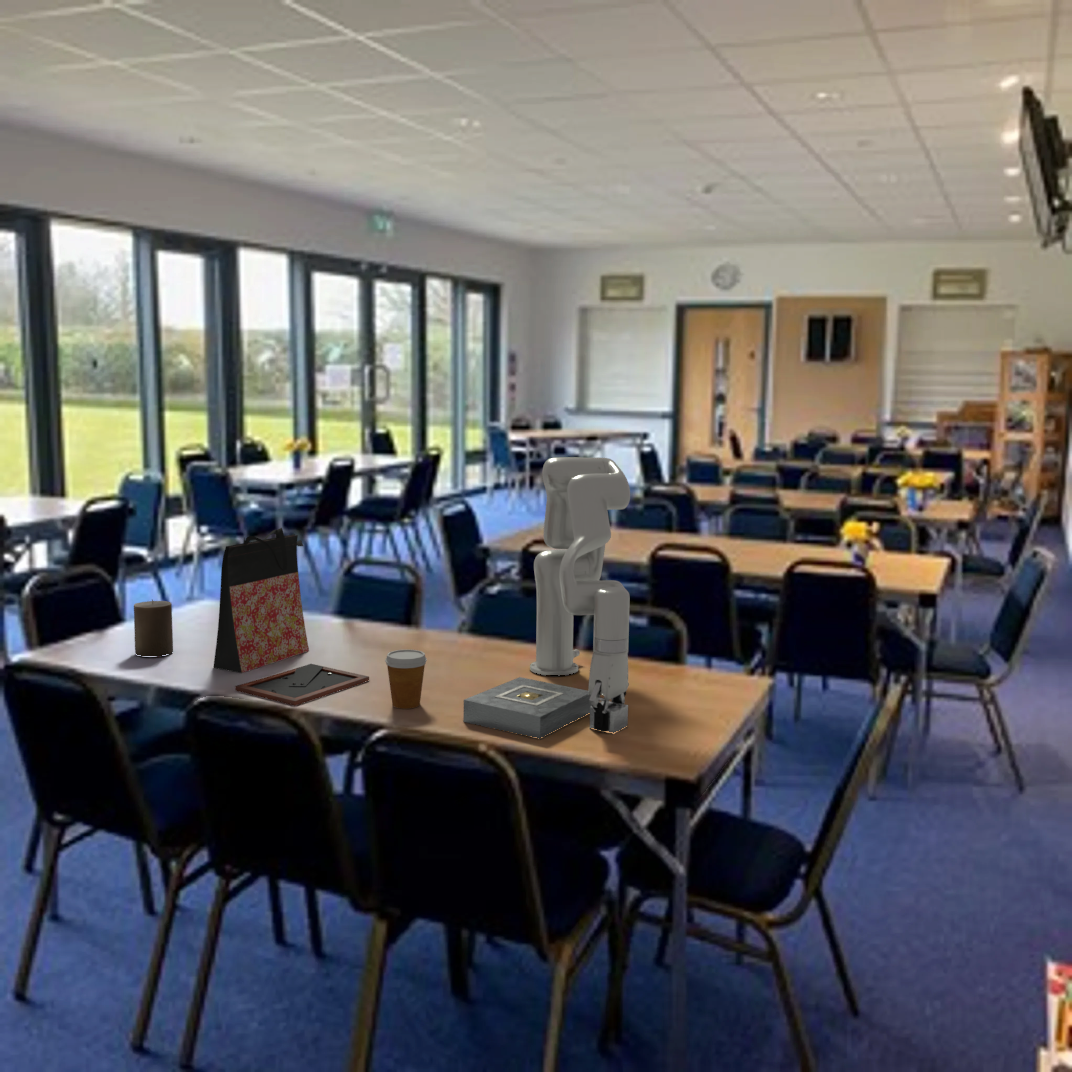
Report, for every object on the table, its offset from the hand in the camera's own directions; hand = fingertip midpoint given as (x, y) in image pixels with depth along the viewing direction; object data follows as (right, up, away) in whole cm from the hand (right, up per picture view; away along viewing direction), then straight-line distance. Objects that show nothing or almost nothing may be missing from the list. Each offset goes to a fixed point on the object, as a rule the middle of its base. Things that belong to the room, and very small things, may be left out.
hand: (608, 724), depth 226 cm
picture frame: (-72, +4, +28) cm, 78 cm away
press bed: (-17, 0, +7) cm, 19 cm away
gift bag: (-87, +8, +53) cm, 102 cm away
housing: (0, -1, 0) cm, 1 cm away
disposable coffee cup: (-46, +2, +14) cm, 48 cm away
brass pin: (-17, +1, +7) cm, 19 cm away
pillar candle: (-119, +9, +55) cm, 131 cm away
